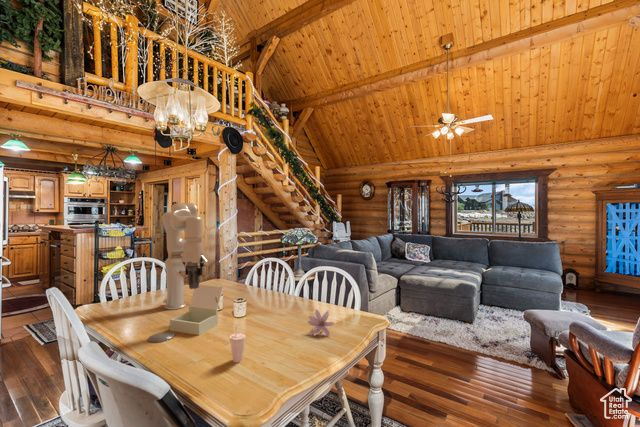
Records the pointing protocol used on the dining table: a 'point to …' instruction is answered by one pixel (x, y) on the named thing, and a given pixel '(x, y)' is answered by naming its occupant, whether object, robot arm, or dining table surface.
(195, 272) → the beverage cup
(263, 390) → the dining table surface
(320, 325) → the water lily
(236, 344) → the smoothie
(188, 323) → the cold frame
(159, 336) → the coaster
